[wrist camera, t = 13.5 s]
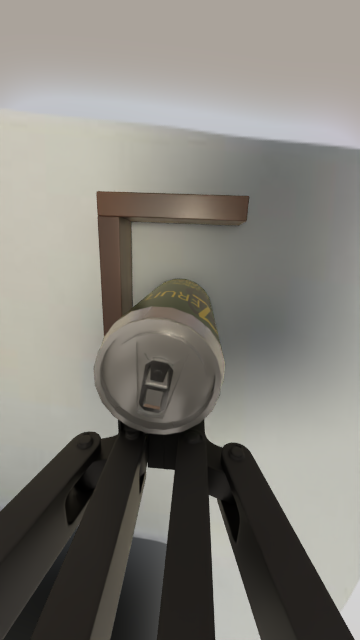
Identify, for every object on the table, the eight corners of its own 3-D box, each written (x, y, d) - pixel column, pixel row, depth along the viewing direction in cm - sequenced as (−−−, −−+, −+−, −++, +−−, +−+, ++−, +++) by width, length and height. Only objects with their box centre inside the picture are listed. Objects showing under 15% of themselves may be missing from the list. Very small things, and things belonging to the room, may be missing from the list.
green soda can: (203, 343, 21) (209, 451, 10) (145, 331, 21) (82, 423, 10) (217, 284, 20) (245, 330, 8) (154, 271, 20) (94, 298, 8)
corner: (241, 204, 18) (249, 195, 15) (224, 365, 22) (228, 383, 19) (111, 200, 18) (95, 190, 16) (117, 357, 22) (105, 373, 19)
